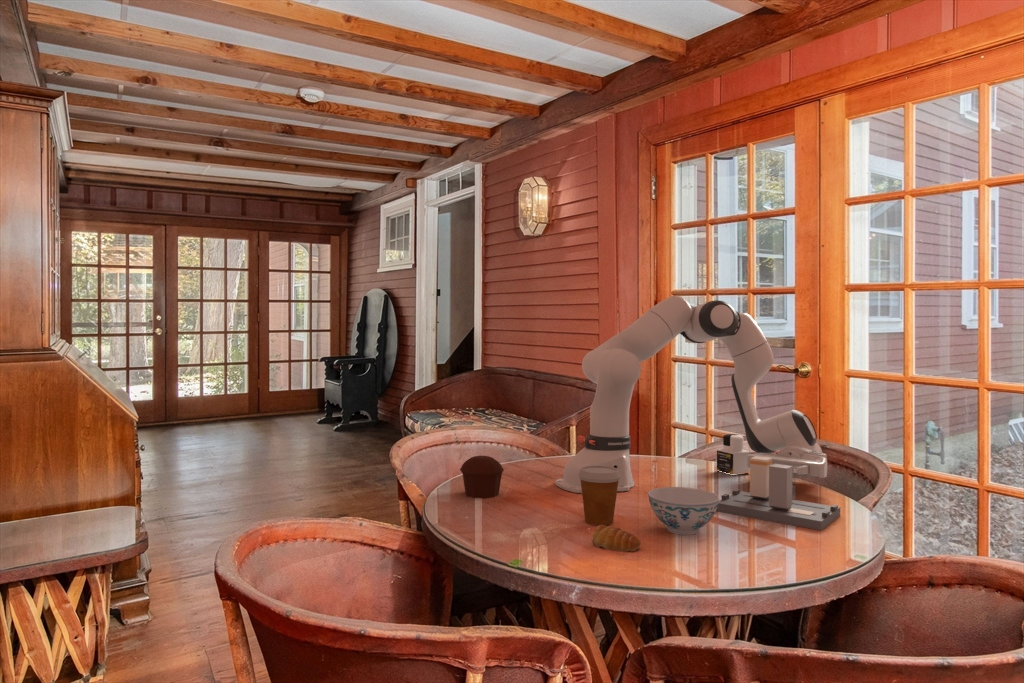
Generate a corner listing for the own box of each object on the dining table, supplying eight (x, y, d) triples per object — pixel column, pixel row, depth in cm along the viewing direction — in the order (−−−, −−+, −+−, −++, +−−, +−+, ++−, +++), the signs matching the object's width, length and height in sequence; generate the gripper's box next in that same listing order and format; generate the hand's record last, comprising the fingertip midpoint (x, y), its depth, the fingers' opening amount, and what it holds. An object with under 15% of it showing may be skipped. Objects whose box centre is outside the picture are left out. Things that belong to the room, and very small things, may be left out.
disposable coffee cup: (626, 520, 148) (626, 468, 148) (610, 530, 140) (611, 475, 139) (588, 514, 153) (588, 463, 153) (570, 523, 144) (571, 470, 144)
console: (715, 510, 156) (715, 498, 156) (739, 498, 169) (739, 487, 169) (821, 530, 141) (822, 516, 141) (840, 515, 153) (840, 503, 153)
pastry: (645, 547, 129) (645, 528, 129) (631, 556, 124) (631, 537, 124) (603, 538, 135) (603, 520, 135) (588, 547, 129) (588, 528, 129)
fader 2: (768, 508, 150) (769, 466, 150) (774, 504, 153) (774, 463, 153) (786, 511, 148) (787, 468, 148) (792, 507, 151) (792, 466, 151)
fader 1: (749, 497, 160) (749, 458, 160) (755, 494, 163) (755, 456, 163) (766, 500, 157) (766, 460, 157) (771, 497, 160) (772, 458, 160)
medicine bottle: (716, 471, 203) (716, 433, 203) (733, 469, 206) (733, 432, 206) (732, 476, 197) (733, 436, 197) (750, 474, 200) (750, 435, 200)
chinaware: (670, 543, 131) (670, 505, 131) (635, 523, 145) (636, 489, 145) (733, 537, 135) (733, 501, 135) (694, 518, 150) (694, 485, 150)
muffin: (510, 492, 174) (510, 455, 174) (492, 501, 164) (492, 462, 164) (471, 487, 179) (472, 451, 179) (451, 496, 169) (452, 458, 169)
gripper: (756, 445, 187) (738, 452, 176) (832, 454, 173) (818, 461, 163) (756, 467, 187) (738, 475, 176) (832, 477, 174) (818, 486, 163)
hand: (777, 468), depth 169 cm, fingers open, 8 cm apart
